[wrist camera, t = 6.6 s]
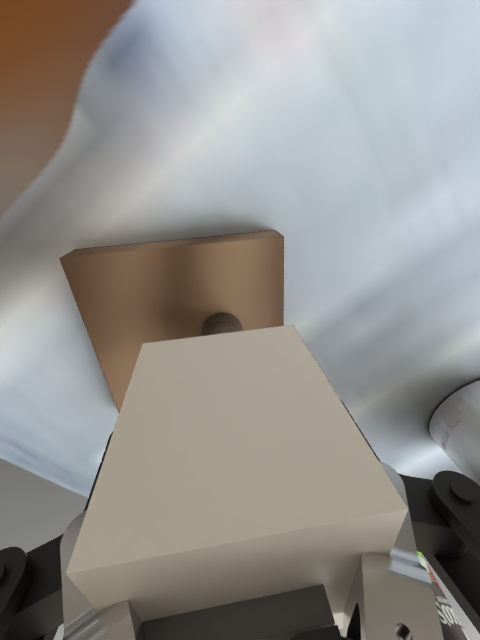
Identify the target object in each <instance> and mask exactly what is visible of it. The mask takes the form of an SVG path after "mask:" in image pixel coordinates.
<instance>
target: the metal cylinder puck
mask: <svg viewBox="0 0 480 640" xmlns="http://www.w3.org/2000/svg"><path fill="white" fill-rule="evenodd" d="M239 331H243V328H242V325H241V322H240V321H239V319H238V318H237V317H236V316H234V315H232V314H230V313H226V312H220V313H215V314H213V315H211V316H209V317H208V318H207V319H206V320H205V321H204V323H203V325H202V335H201V336H207V335H215V334H223V333H231V332H239Z"/></svg>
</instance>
